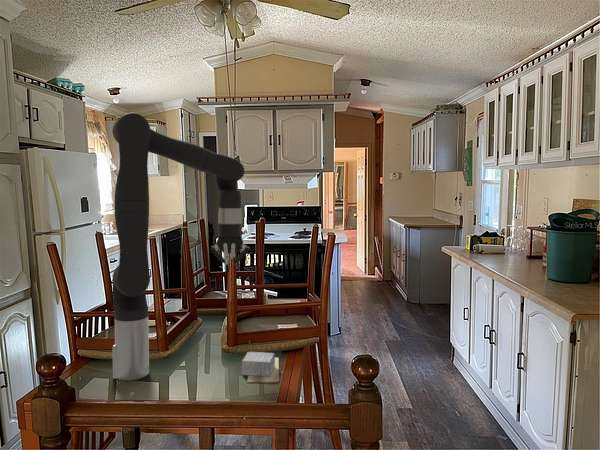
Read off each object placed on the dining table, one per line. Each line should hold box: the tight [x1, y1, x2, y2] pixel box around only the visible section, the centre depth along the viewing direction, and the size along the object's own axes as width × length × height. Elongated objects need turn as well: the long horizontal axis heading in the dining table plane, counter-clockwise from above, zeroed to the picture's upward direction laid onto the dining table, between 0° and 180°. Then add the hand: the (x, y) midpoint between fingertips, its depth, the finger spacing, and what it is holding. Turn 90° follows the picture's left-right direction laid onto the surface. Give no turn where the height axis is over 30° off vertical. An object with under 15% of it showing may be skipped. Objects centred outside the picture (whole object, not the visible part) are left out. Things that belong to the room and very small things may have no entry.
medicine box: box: [241, 351, 276, 376], centre depth 132 cm, size 8×4×9 cm
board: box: [246, 357, 280, 384], centre depth 134 cm, size 9×18×1 cm, turn 4°
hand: (229, 275), depth 143 cm, fingers closed
